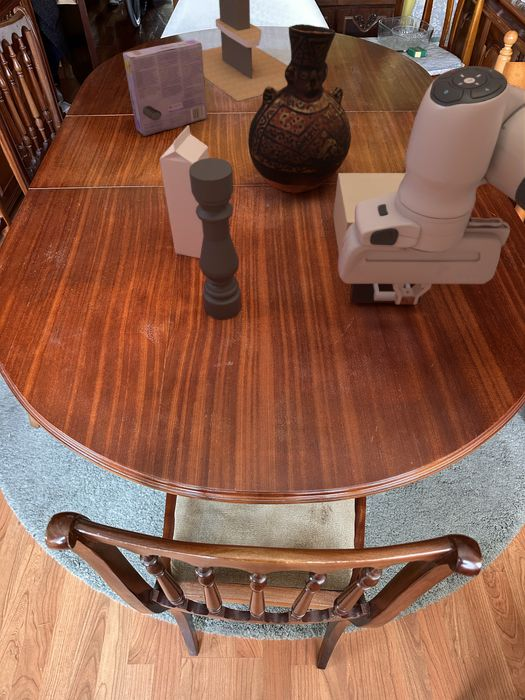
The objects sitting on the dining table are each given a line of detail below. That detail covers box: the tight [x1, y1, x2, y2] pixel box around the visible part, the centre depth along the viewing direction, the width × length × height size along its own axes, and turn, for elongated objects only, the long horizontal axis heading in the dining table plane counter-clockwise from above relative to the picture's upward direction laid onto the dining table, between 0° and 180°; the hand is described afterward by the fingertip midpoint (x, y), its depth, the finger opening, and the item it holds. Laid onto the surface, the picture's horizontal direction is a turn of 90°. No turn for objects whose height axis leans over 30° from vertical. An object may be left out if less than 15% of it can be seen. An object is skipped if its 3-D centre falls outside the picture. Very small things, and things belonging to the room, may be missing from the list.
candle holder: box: [189, 157, 242, 320], centre depth 76 cm, size 6×6×25 cm
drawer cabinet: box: [332, 172, 405, 254], centre depth 93 cm, size 16×13×10 cm
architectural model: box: [202, 0, 289, 102], centre depth 144 cm, size 38×25×20 cm, turn 32°
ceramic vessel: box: [247, 23, 352, 194], centre depth 99 cm, size 21×18×30 cm
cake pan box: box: [122, 38, 208, 137], centre depth 122 cm, size 19×5×18 cm, turn 123°
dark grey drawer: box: [349, 284, 422, 304], centre depth 85 cm, size 19×11×8 cm, turn 0°
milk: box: [159, 125, 210, 259], centre depth 87 cm, size 6×6×22 cm
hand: (404, 301), depth 72 cm, fingers closed
